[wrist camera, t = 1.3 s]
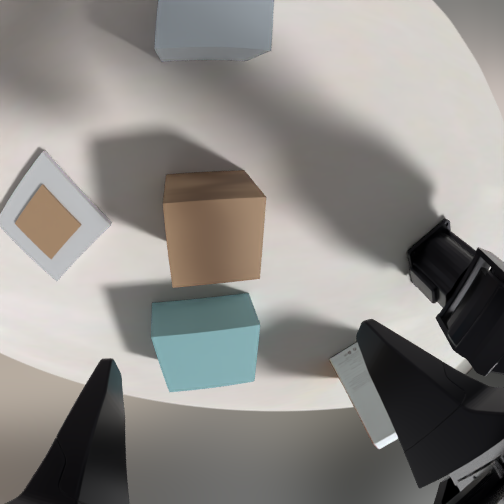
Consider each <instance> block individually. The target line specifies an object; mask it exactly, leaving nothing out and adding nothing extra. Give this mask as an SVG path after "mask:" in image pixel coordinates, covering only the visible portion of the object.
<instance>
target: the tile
mask: <svg viewBox="0 0 504 504" xmlns="http://www.w3.org/2000/svg"><path fill="white" fill-rule="evenodd" d="M111 224H112V222H111V221H110V220H109V219H108V218H107V217H106V216H105V215H104V214H103V213H102V212H101V211H100V210H99V209H98V207H97V206H96V205H95V204H94V203H93V202H92V201H91V200H90V199H89V198H88V197H87V196H86V195H85V194H84V193H83V192H82V191H81V190H80V189H79V188H78V186H77V185H76V184H75V183H74V182H73V181H72V180H71V179H70V178H69V177H68V176H67V174H66V173H65V172H64V171H63V170H62V169H61V168H60V167H59V165H58V164H57V163H56V162H55V161H54V160H53V159H52V157H51V156H50V155H49V154H48V153H47V152H46V150H45V151H43V152H42V153H41V154H40V156H39V157H38V158H37V159H36V161H35V162H34V163H33V165H32V166H31V168H30V169H29V170H28V172H27V173H26V175H25V176H24V177H23V179H22V180H21V182H20V183H19V185H18V186H17V188H16V189H15V191H14V192H13V194H12V195H11V197H10V199H9V200H8V202H7V203H6V205H5V207H4V208H3V210H2V212H1V214H0V227H1V228H2V229H3V230H4V232H5V233H6V234H7V235H8V236H9V237H10V238H11V239H12V240H13V241H14V242H15V243H16V244H17V245H18V246H19V247H20V248H21V249H22V250H23V251H24V252H25V253H26V254H27V255H28V256H29V257H30V258H31V259H32V260H33V261H34V262H36V263H37V264H38V265H39V266H40V267H41V268H42V269H43V270H44V271H45V272H47V273H48V274H49V275H50V276H51V277H52V278H53V279H54V280H56V281H58V280H59V279H60V277H61V276H62V275H63V274H64V273H65V272H66V271H67V270H68V269H69V267H70V266H71V265H72V264H73V263H74V262H75V261H76V260H77V259H78V258H79V257H80V256H81V255H82V254H83V253H84V252H85V251H86V250H87V248H88V247H89V246H90V245H91V244H92V243H93V242H94V241H95V240H96V239H97V238H98V237H99V236H100V235H101V234H102V233H104V232H105V231H106V230H107V229H108V228H109V227H110V226H111Z"/></svg>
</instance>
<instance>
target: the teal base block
mask: <svg viewBox="0 0 504 504" xmlns="http://www.w3.org/2000/svg"><path fill="white" fill-rule="evenodd" d="M259 333H260V323H259V320H258V317H257V314H256V312H255V309H254V306H253V304H252V301H251V298H250V295H249V293H244V294H236V295H227V296H218V297H209V298H199V299H189V300H179V301H168V302H157V303H152V317H151V338H152V342H153V345H154V348H155V351H156V354H157V358H158V361H159V364H160V367H161V370H162V373H163V375H164V378H165V381H166V384H167V387H168V389H169V392H177V391H188V390H197V389H206V388H214V387H221V386H228V385H235V384H241V383H247V382H253V381H254V379H255V370H256V361H257V352H258V342H259Z"/></svg>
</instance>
